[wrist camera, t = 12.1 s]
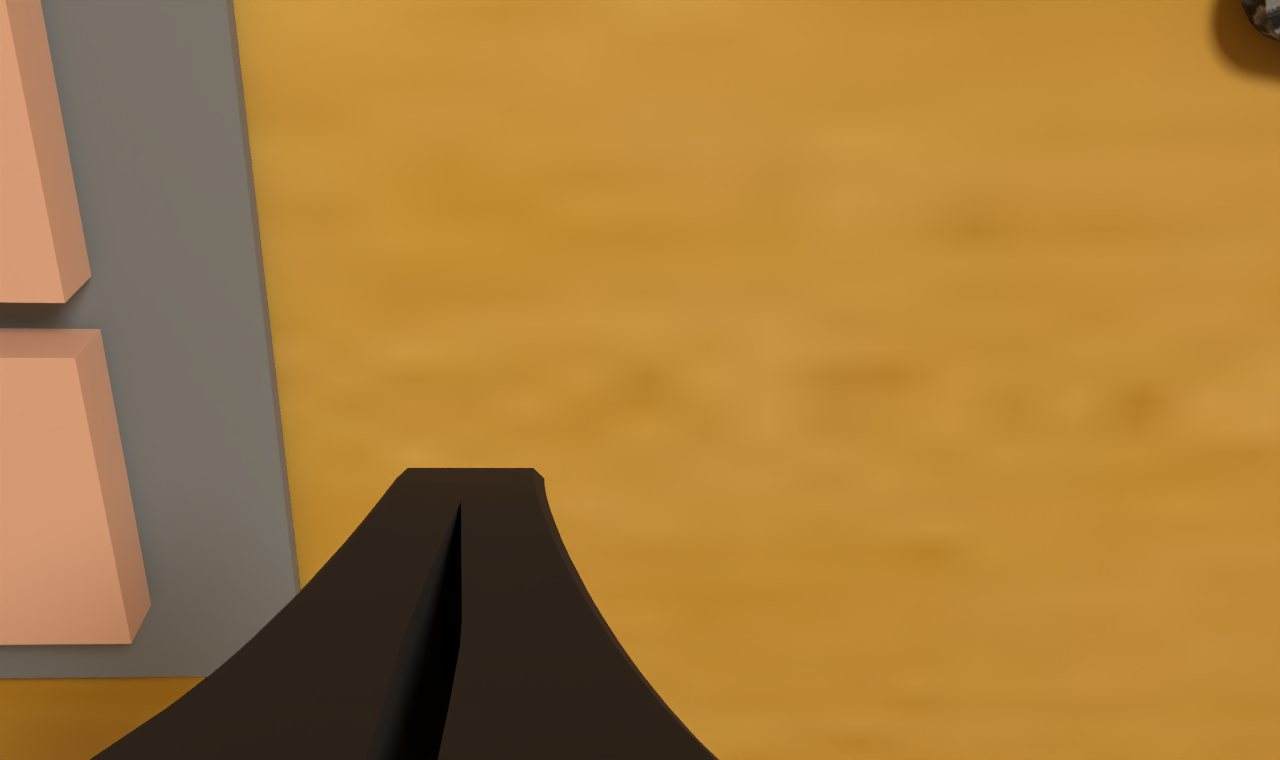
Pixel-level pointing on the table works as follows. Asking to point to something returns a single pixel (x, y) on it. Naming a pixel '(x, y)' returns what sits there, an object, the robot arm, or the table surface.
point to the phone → (1264, 16)
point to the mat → (173, 327)
